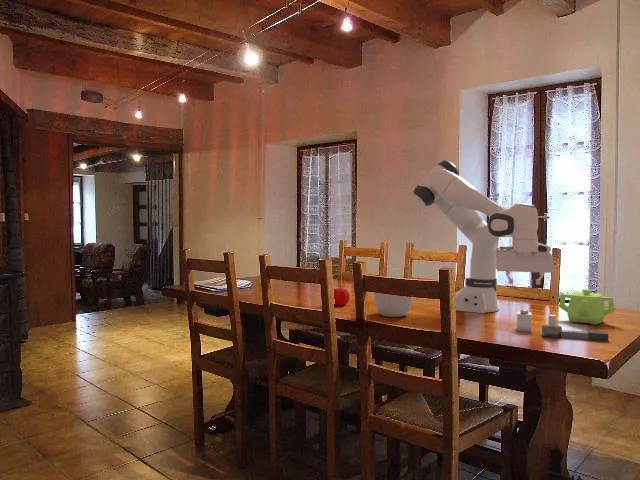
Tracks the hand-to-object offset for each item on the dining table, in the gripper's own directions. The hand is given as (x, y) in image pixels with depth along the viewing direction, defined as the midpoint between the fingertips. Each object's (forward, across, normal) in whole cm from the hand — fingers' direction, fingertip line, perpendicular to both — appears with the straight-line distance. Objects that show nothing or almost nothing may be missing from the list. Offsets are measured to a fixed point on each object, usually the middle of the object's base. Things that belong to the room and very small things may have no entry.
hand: (524, 284), depth 196 cm
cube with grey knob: (+17, 0, 0) cm, 17 cm away
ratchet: (+17, +16, -8) cm, 25 cm away
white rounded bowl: (+17, -52, +11) cm, 56 cm away
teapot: (+18, +23, +22) cm, 36 cm away
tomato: (+17, -81, +27) cm, 87 cm away
